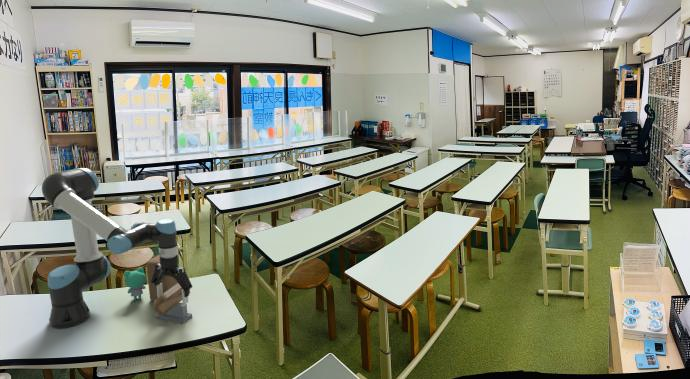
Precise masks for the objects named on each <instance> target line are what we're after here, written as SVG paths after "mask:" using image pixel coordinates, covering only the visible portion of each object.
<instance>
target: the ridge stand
mask: <svg viewBox="0 0 690 379" xmlns="http://www.w3.org/2000/svg"><path fill="white" fill-rule="evenodd" d="M187 306H188V303H186V304H185V305H183V302H179V303H178V304H176V305H175V306H174V307H173V308H172V309H170V310H169V311H168V312H167V313H165V314H164V315H160V314H156V318H157V319H161V320H165V321H169V322H174V323H179V324H182V325H183V324H185V323H186V322H187V321H189V320H190V319H192V318H193V313H189V312H188V307H187Z"/></svg>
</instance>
